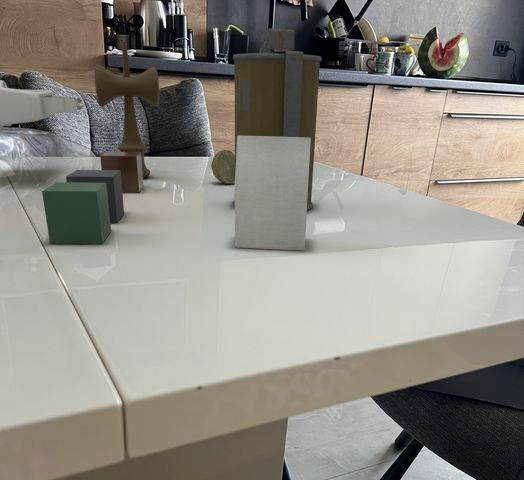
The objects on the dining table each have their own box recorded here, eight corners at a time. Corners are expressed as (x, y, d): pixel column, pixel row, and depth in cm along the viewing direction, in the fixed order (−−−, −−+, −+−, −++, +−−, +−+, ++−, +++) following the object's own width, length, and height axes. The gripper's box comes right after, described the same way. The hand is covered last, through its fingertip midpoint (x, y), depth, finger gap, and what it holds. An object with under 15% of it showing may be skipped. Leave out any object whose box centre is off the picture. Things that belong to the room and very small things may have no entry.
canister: (224, 199, 75) (223, 31, 66) (295, 196, 78) (303, 35, 69) (247, 216, 66) (249, 23, 57) (326, 212, 69) (340, 28, 60)
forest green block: (49, 243, 53) (41, 190, 51) (62, 231, 57) (55, 182, 55) (102, 243, 53) (96, 191, 51) (111, 231, 58) (106, 182, 56)
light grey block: (304, 250, 53) (310, 139, 48) (234, 247, 53) (234, 137, 49) (305, 240, 56) (310, 136, 52) (239, 238, 56) (239, 134, 52)
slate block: (72, 222, 61) (65, 176, 59) (82, 213, 65) (76, 169, 63) (117, 222, 61) (113, 176, 59) (124, 213, 66) (120, 170, 64)
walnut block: (103, 192, 78) (100, 155, 76) (110, 186, 82) (106, 151, 80) (139, 192, 78) (136, 155, 76) (143, 186, 83) (141, 152, 81)
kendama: (105, 175, 92) (91, 39, 84) (163, 174, 94) (155, 41, 86) (104, 180, 87) (89, 36, 78) (165, 179, 89) (157, 39, 80)
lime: (243, 181, 89) (243, 149, 87) (235, 186, 85) (235, 152, 83) (216, 180, 90) (216, 148, 88) (207, 184, 86) (206, 151, 83)
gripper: (1, 121, 92) (86, 122, 95) (-29, 131, 75) (77, 131, 77) (-6, 79, 90) (81, 81, 93) (-39, 79, 72) (71, 82, 75)
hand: (79, 104), depth 85 cm, fingers open, 8 cm apart
